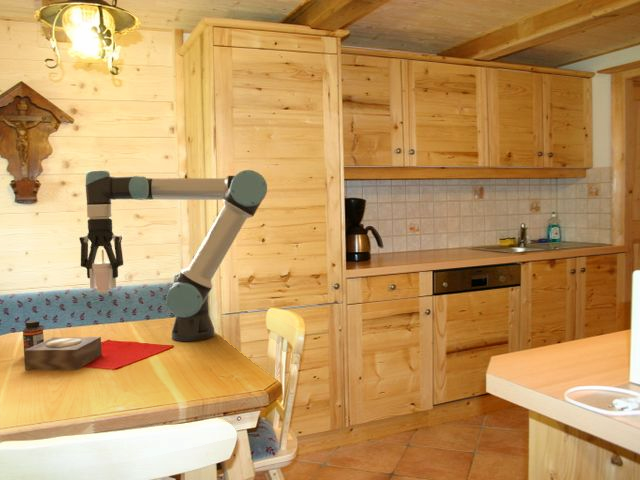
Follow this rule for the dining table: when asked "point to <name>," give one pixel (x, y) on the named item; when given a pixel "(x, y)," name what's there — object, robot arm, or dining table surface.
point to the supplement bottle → (32, 334)
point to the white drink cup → (102, 275)
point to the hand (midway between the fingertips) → (103, 287)
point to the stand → (62, 353)
